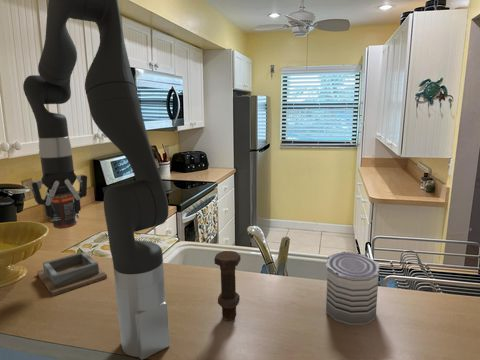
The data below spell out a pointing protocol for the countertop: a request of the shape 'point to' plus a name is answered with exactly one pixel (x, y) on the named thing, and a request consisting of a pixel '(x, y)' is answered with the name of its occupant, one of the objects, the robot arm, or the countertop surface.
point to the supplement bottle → (63, 208)
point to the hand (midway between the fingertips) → (64, 215)
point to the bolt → (228, 283)
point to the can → (352, 288)
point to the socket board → (70, 273)
